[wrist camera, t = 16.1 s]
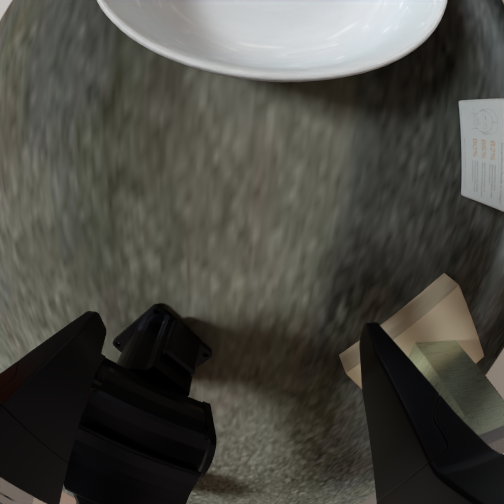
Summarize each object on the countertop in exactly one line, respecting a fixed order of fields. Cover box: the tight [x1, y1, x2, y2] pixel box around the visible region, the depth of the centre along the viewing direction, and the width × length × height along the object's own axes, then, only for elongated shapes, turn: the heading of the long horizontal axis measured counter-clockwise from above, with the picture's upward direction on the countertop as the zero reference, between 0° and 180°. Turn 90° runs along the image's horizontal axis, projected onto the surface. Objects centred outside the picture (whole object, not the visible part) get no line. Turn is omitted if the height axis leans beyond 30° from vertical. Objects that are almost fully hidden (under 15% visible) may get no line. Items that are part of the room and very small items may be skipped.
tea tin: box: [408, 340, 504, 454], centre depth 19 cm, size 5×5×12 cm
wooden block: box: [339, 273, 484, 389], centre depth 26 cm, size 12×12×3 cm
